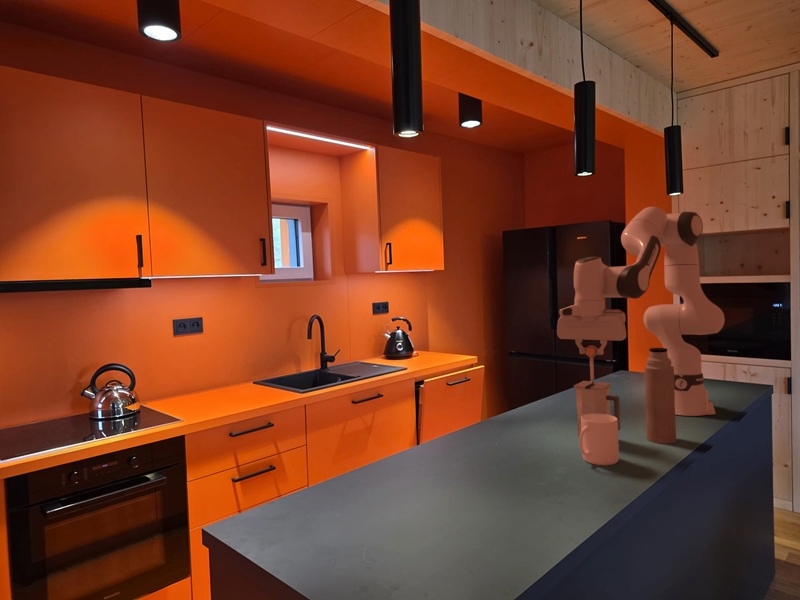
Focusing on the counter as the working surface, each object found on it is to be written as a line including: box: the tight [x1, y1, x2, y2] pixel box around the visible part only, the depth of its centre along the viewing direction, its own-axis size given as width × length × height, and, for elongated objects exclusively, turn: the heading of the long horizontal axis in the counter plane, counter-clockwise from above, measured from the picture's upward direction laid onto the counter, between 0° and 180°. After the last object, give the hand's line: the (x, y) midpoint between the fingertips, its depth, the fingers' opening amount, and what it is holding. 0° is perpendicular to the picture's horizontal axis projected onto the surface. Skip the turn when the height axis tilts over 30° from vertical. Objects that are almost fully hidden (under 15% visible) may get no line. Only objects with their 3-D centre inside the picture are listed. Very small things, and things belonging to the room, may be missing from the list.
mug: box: [579, 414, 620, 466], centre depth 141 cm, size 10×12×12 cm
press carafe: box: [573, 380, 621, 440], centre depth 159 cm, size 9×12×17 cm
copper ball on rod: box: [585, 345, 598, 387], centre depth 159 cm, size 7×7×18 cm
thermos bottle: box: [644, 347, 677, 445], centre depth 156 cm, size 8×8×28 cm
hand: (591, 354), depth 159 cm, fingers open, 4 cm apart
